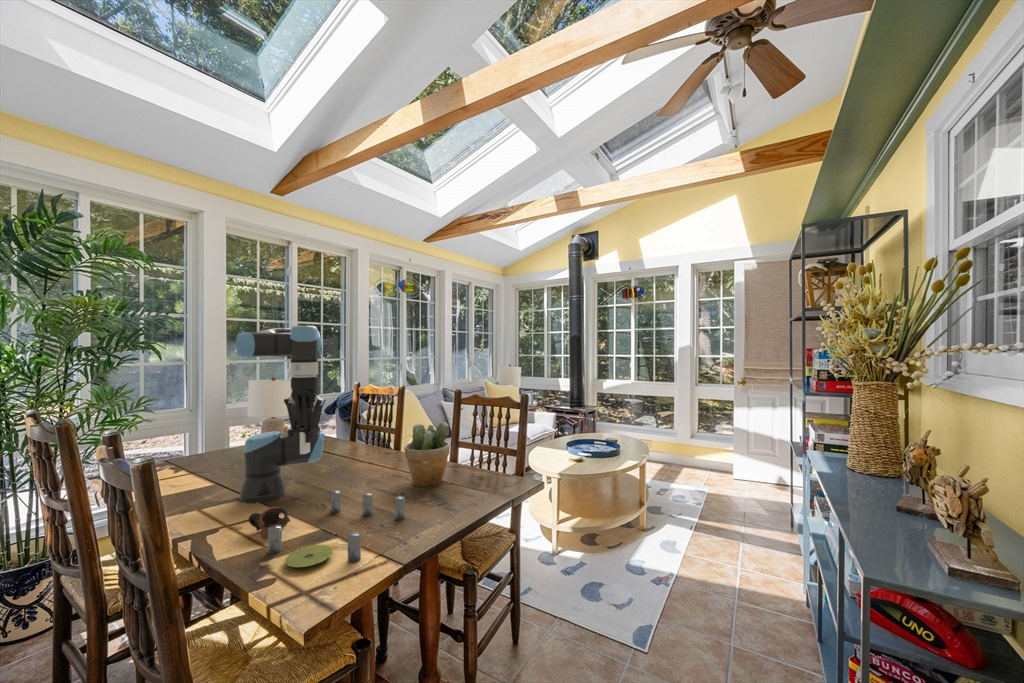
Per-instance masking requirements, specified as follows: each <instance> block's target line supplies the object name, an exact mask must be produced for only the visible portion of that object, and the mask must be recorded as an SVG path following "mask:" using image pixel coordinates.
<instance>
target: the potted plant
mask: <svg viewBox="0 0 1024 683" xmlns="http://www.w3.org/2000/svg"><path fill="white" fill-rule="evenodd" d="M448 431H449V424H448V423H447V422H445V421H441V422H439V424H438V425H437V427H436V429H435V427H434V425H432V424H429V425H428V427H427V428H425V425H424V424H422V423H417V424H415V425H413V427H412V435H411V437H412V440H411V442H409V443H407V444H405V445H404V446H403V447H404V455H405V458H406V460H407V465H408V469H409V472H410V476H411V479H412V483H413V485H415V486H417V487H421V488H425V487H426V488H427V487H434V486H435V487H436V486H438V485H440V484H441V483H442V481H443V478H444V476H445V472H446V468H447V463H448V460H449V459H448V458H449V457H448V456H449V455H450V450H451V443H450V442H449V441H447V440H446V436H447V432H448Z"/></svg>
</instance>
